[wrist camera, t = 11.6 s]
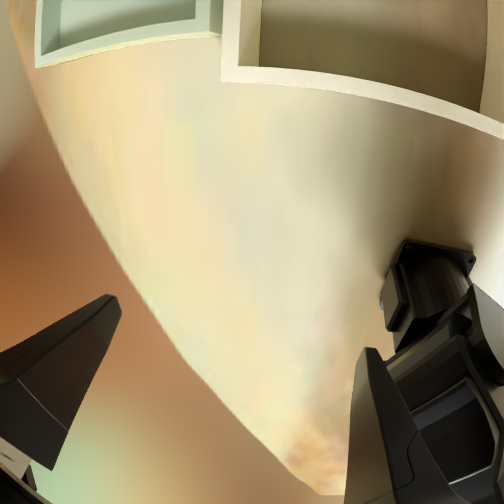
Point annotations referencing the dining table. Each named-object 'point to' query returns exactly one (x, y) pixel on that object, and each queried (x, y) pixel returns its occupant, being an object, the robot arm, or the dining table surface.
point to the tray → (118, 25)
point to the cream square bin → (248, 71)
